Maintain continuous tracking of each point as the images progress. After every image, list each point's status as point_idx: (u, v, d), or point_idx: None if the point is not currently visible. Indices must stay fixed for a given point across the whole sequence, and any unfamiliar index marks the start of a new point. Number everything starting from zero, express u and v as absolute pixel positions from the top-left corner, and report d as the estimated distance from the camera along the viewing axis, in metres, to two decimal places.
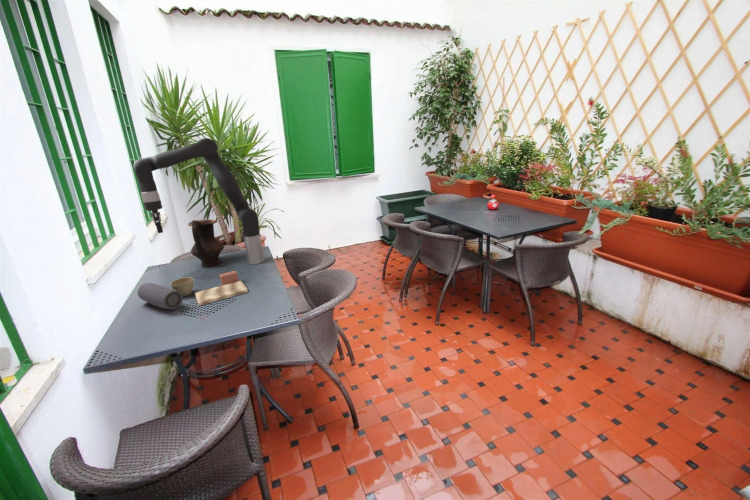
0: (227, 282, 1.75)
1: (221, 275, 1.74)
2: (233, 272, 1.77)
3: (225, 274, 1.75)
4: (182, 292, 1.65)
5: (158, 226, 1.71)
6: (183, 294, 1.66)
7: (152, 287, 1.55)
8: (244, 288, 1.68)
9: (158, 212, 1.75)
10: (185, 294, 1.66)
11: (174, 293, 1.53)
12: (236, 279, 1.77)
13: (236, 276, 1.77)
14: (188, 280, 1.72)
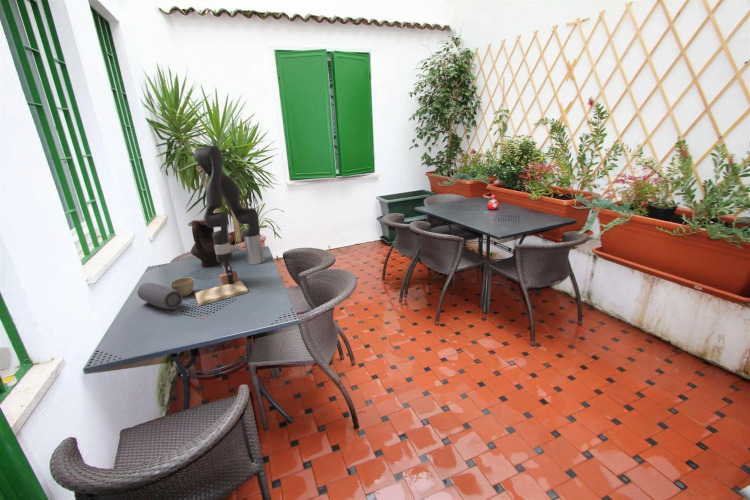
0: (227, 282, 1.75)
1: (221, 275, 1.74)
2: (233, 272, 1.77)
3: (225, 274, 1.75)
4: (182, 292, 1.65)
5: (230, 278, 1.72)
6: (183, 294, 1.66)
7: (152, 287, 1.55)
8: (244, 288, 1.68)
9: (228, 262, 1.76)
10: (185, 294, 1.66)
11: (174, 293, 1.53)
12: (236, 279, 1.77)
13: (236, 276, 1.77)
14: (188, 280, 1.72)
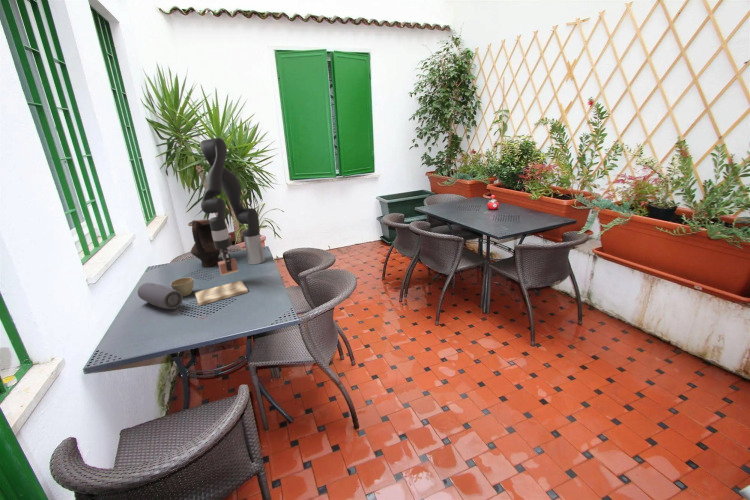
0: (226, 270, 1.73)
1: (220, 263, 1.72)
2: (232, 260, 1.75)
3: (224, 262, 1.73)
4: (182, 292, 1.65)
5: (228, 265, 1.72)
6: (183, 294, 1.66)
7: (152, 287, 1.55)
8: (244, 288, 1.68)
9: (226, 249, 1.74)
10: (185, 294, 1.66)
11: (174, 293, 1.53)
12: (235, 267, 1.75)
13: (235, 264, 1.75)
14: (188, 280, 1.72)
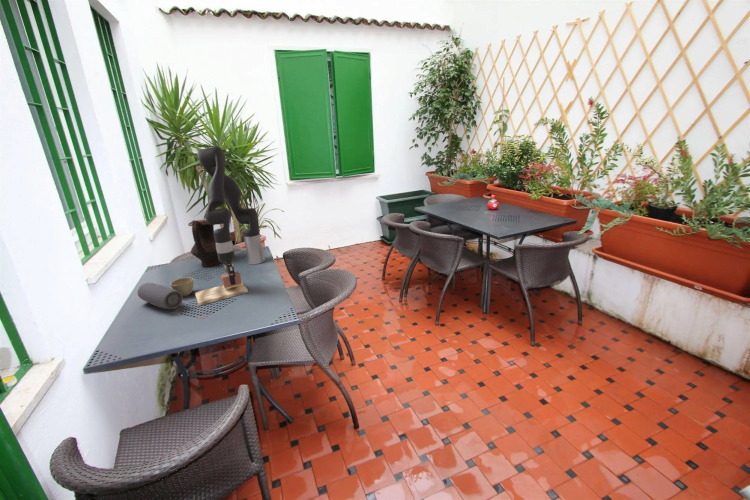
0: (229, 283, 1.66)
1: (223, 276, 1.65)
2: (235, 273, 1.68)
3: (227, 275, 1.66)
4: (182, 292, 1.65)
5: (232, 278, 1.64)
6: (183, 294, 1.66)
7: (152, 287, 1.55)
8: (244, 288, 1.68)
9: (230, 261, 1.67)
10: (185, 294, 1.66)
11: (174, 293, 1.53)
12: (239, 280, 1.68)
13: (239, 277, 1.68)
14: (188, 280, 1.72)
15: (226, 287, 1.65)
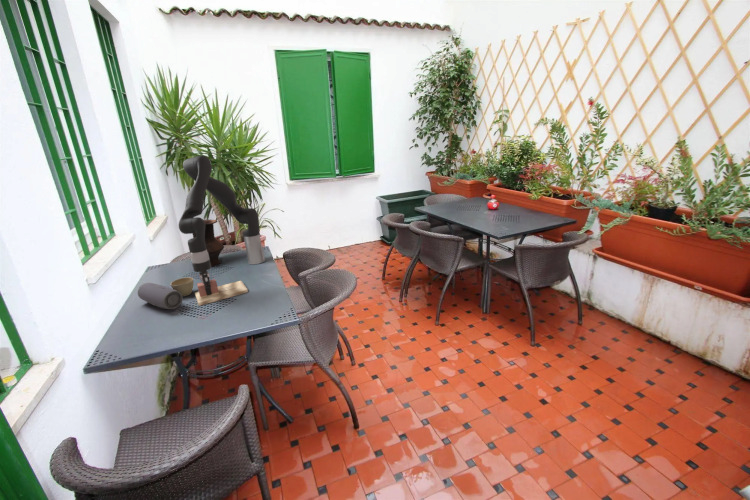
0: (205, 292, 1.61)
1: (199, 285, 1.60)
2: (212, 281, 1.63)
3: None
4: (182, 292, 1.65)
5: (207, 289, 1.59)
6: (183, 294, 1.66)
7: (152, 287, 1.55)
8: (244, 288, 1.68)
9: (206, 271, 1.62)
10: (185, 294, 1.66)
11: (174, 293, 1.53)
12: (215, 289, 1.63)
13: (215, 285, 1.62)
14: (188, 280, 1.72)
15: (202, 296, 1.60)
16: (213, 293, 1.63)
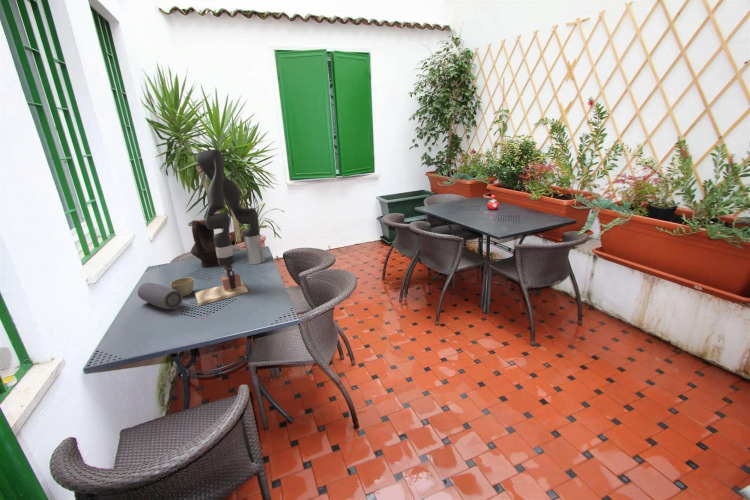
0: (229, 286, 1.66)
1: (223, 278, 1.65)
2: (235, 275, 1.68)
3: None
4: (182, 292, 1.65)
5: (232, 282, 1.65)
6: (183, 294, 1.66)
7: (152, 287, 1.55)
8: (244, 288, 1.68)
9: (230, 265, 1.67)
10: (185, 294, 1.66)
11: (174, 293, 1.53)
12: (239, 282, 1.68)
13: (239, 279, 1.68)
14: (188, 280, 1.72)
15: (226, 289, 1.66)
16: (236, 287, 1.68)
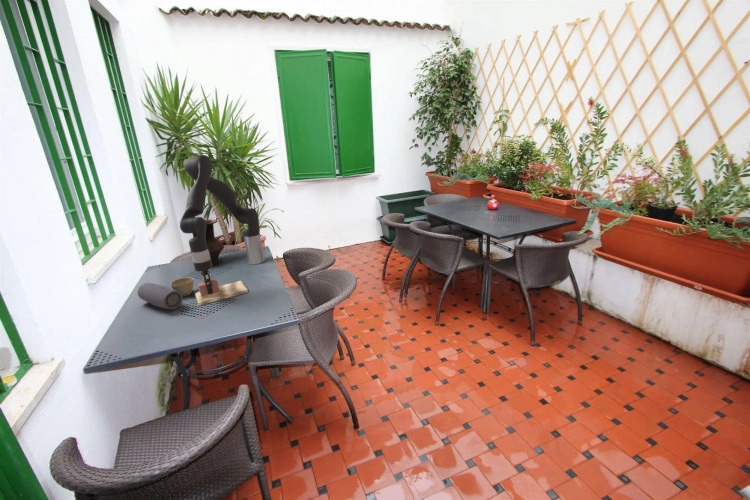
0: (206, 292, 1.61)
1: (200, 284, 1.60)
2: (213, 281, 1.63)
3: (204, 283, 1.61)
4: (182, 292, 1.65)
5: (209, 287, 1.58)
6: (183, 294, 1.66)
7: (152, 287, 1.55)
8: (244, 288, 1.68)
9: (207, 271, 1.62)
10: (185, 294, 1.66)
11: (174, 293, 1.53)
12: (216, 288, 1.63)
13: (216, 285, 1.63)
14: (188, 280, 1.72)
15: (203, 296, 1.61)
16: (214, 293, 1.63)
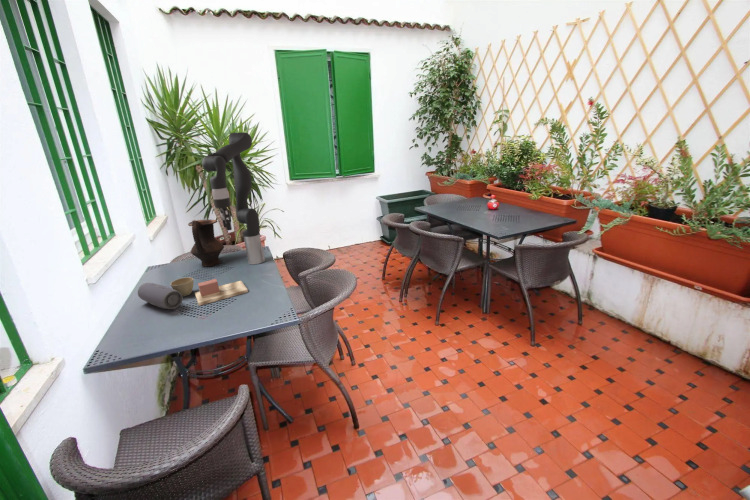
0: (206, 292, 1.61)
1: (200, 284, 1.60)
2: (213, 281, 1.63)
3: (204, 283, 1.61)
4: (182, 292, 1.65)
5: (228, 223, 1.70)
6: (183, 294, 1.66)
7: (152, 287, 1.55)
8: (244, 288, 1.68)
9: (226, 209, 1.74)
10: (185, 294, 1.66)
11: (174, 293, 1.53)
12: (216, 288, 1.63)
13: (216, 285, 1.63)
14: (188, 280, 1.72)
15: (203, 296, 1.61)
16: (214, 293, 1.63)
